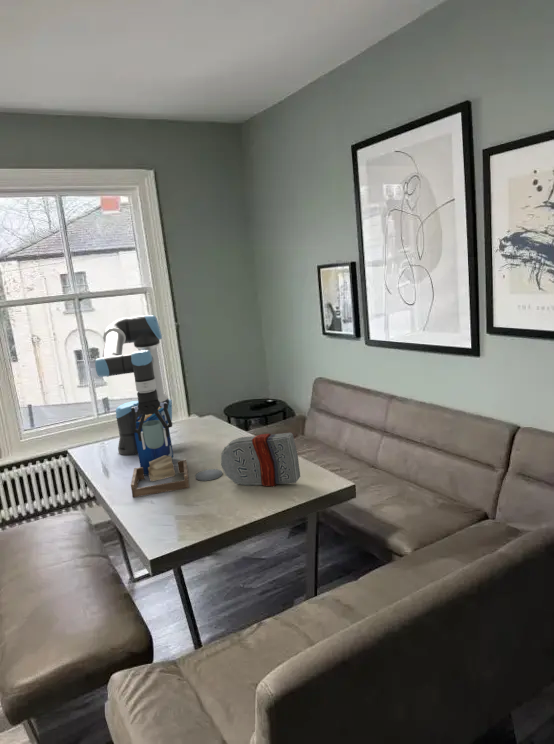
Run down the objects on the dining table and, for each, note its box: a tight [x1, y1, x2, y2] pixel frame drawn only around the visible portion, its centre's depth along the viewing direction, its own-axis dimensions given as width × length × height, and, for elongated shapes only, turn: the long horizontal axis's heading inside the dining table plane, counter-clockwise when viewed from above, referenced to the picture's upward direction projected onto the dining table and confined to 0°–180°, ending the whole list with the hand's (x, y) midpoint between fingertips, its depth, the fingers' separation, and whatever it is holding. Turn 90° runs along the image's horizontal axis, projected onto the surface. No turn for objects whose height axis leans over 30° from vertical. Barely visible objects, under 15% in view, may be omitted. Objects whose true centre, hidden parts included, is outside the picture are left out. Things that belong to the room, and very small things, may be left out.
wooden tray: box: [130, 459, 190, 498], centre depth 222 cm, size 19×21×5 cm
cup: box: [142, 420, 164, 449], centre depth 218 cm, size 8×8×10 cm
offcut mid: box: [148, 462, 175, 476], centre depth 230 cm, size 4×9×3 cm, turn 127°
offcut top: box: [149, 455, 173, 469], centre depth 229 cm, size 4×8×3 cm, turn 143°
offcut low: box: [148, 469, 176, 482], centre depth 230 cm, size 4×10×3 cm, turn 113°
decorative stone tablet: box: [220, 432, 301, 487], centre depth 210 cm, size 19×6×30 cm
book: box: [134, 407, 174, 476], centre depth 240 cm, size 22×7×25 cm, turn 169°
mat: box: [194, 468, 223, 482], centre depth 226 cm, size 11×11×1 cm
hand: (155, 446), depth 219 cm, fingers closed on cup, 8 cm apart
